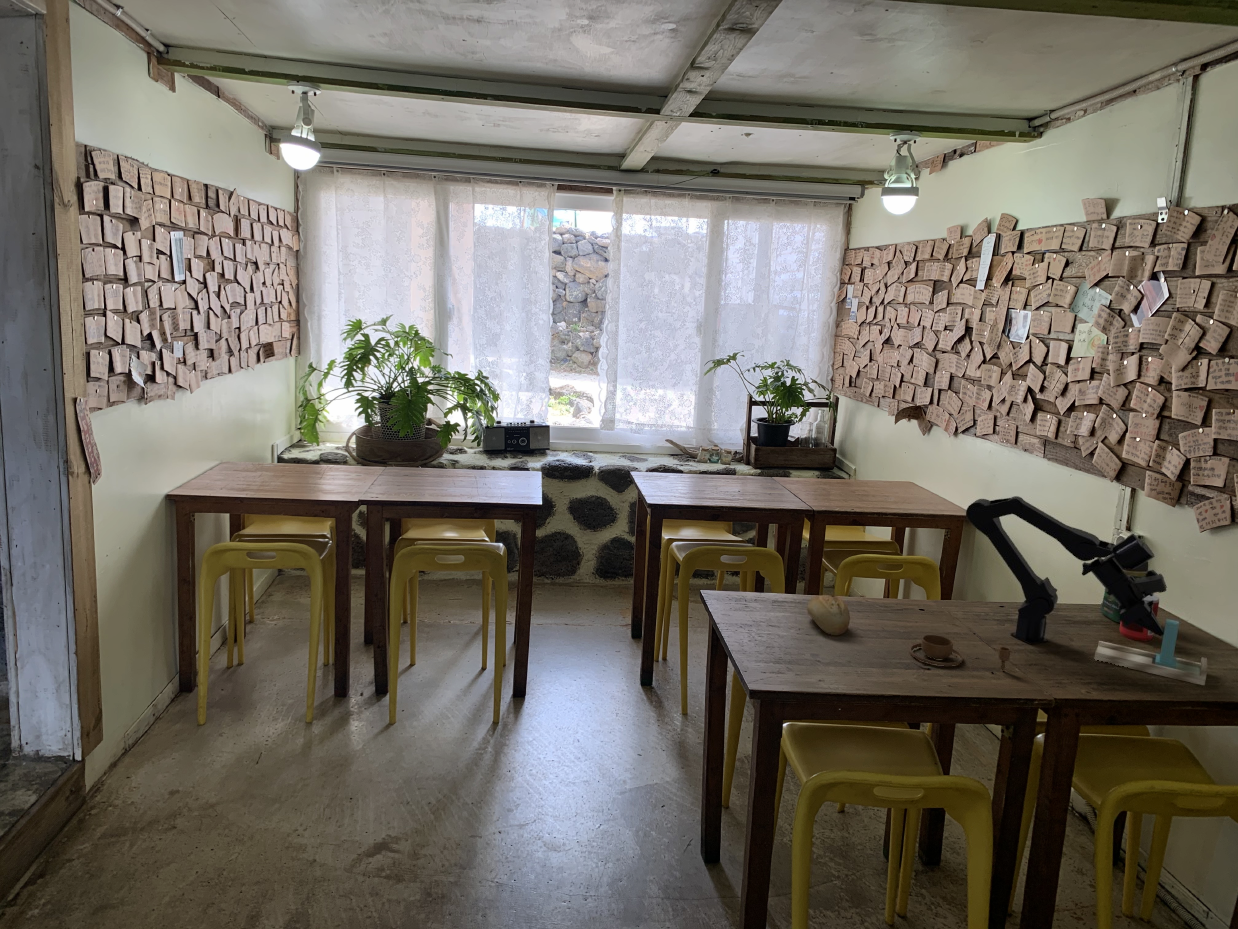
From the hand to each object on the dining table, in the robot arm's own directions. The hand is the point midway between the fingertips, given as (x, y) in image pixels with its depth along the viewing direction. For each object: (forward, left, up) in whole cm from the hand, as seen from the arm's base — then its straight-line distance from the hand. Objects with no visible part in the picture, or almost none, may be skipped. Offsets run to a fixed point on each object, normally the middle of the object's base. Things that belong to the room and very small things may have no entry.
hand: (1162, 634), depth 199 cm
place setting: (-47, +16, -9) cm, 50 cm away
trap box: (-1, +1, -8) cm, 8 cm away
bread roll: (-62, +44, -9) cm, 76 cm away
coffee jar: (+21, +27, -8) cm, 36 cm away
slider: (+1, -1, -7) cm, 7 cm away
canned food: (+14, +17, -8) cm, 23 cm away
